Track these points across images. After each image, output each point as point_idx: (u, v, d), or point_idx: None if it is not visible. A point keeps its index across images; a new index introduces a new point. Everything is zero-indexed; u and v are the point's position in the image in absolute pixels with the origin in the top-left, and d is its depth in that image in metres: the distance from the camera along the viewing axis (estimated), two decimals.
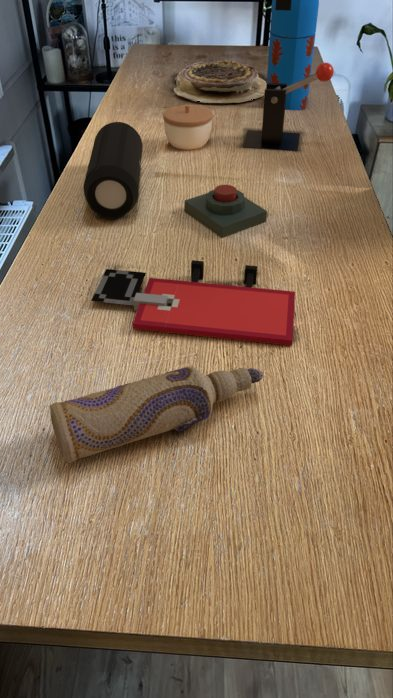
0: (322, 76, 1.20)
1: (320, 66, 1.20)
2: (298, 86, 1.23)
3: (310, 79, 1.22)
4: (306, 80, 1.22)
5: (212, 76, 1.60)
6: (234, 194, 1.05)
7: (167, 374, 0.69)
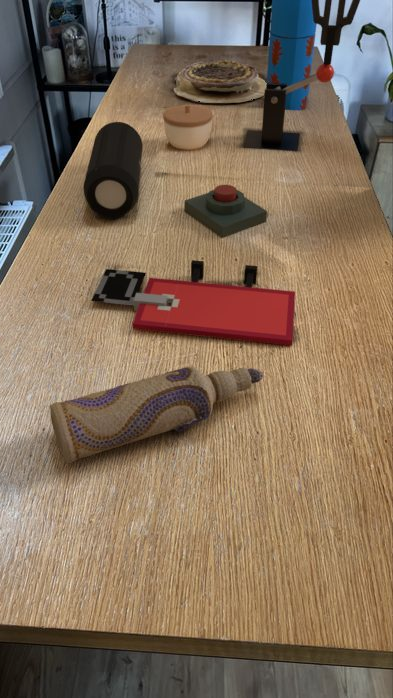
0: (322, 77, 1.20)
1: (320, 67, 1.20)
2: (298, 86, 1.23)
3: (310, 80, 1.22)
4: (306, 80, 1.22)
5: (212, 76, 1.60)
6: (234, 194, 1.05)
7: (167, 374, 0.69)
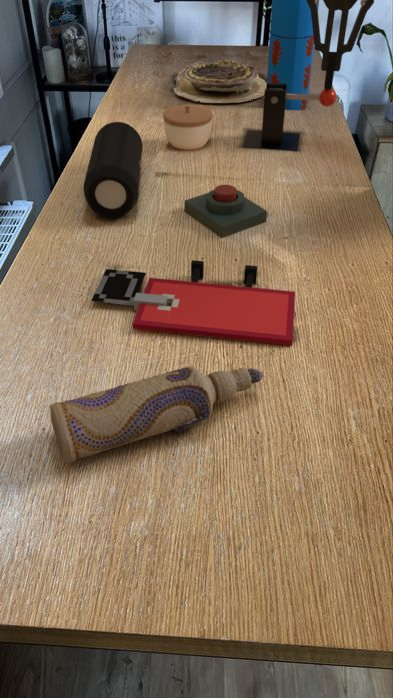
0: (324, 101, 1.23)
1: (327, 90, 1.23)
2: (299, 98, 1.25)
3: (313, 98, 1.24)
4: (309, 96, 1.24)
5: (212, 76, 1.60)
6: (234, 194, 1.05)
7: (167, 374, 0.69)
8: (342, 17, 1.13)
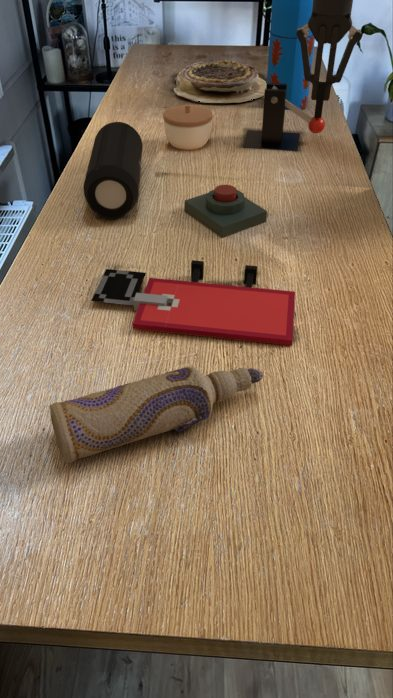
0: (313, 127, 1.27)
1: (320, 119, 1.27)
2: (294, 111, 1.27)
3: (305, 118, 1.27)
4: (302, 114, 1.27)
5: (212, 76, 1.60)
6: (234, 194, 1.05)
7: (167, 374, 0.69)
8: (331, 50, 1.17)
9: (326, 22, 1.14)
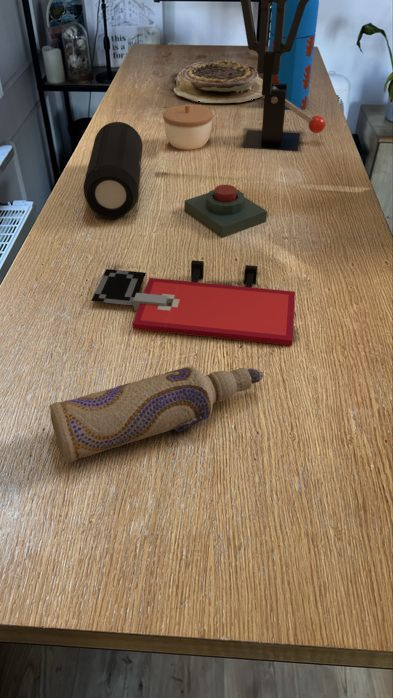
0: (314, 126, 1.27)
1: (320, 118, 1.27)
2: (294, 111, 1.27)
3: (305, 117, 1.27)
4: (303, 114, 1.27)
5: (212, 76, 1.60)
6: (234, 194, 1.05)
7: (167, 374, 0.69)
8: (277, 11, 0.96)
9: None
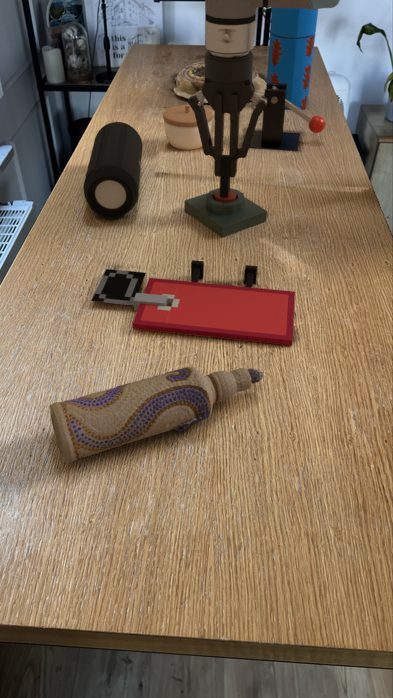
0: (314, 126, 1.27)
1: (320, 118, 1.27)
2: (294, 111, 1.27)
3: (305, 117, 1.27)
4: (303, 114, 1.27)
5: None
6: (234, 199, 1.05)
7: (167, 374, 0.69)
8: (231, 121, 0.96)
9: (222, 89, 0.93)
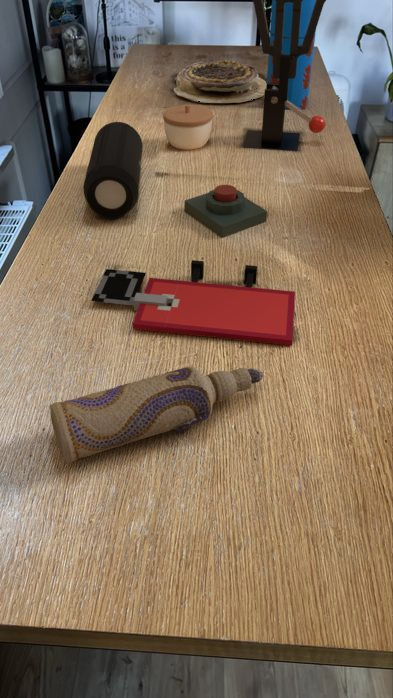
0: (314, 126, 1.27)
1: (320, 118, 1.27)
2: (294, 111, 1.27)
3: (305, 117, 1.27)
4: (303, 114, 1.27)
5: (212, 76, 1.60)
6: (234, 194, 1.05)
7: (167, 374, 0.69)
8: (294, 11, 0.90)
9: None
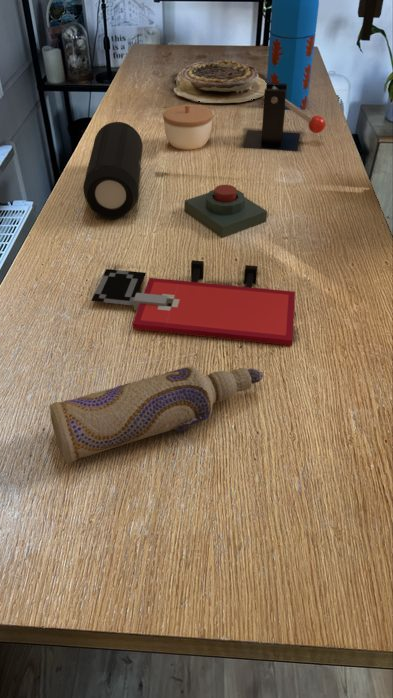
0: (314, 126, 1.27)
1: (320, 118, 1.27)
2: (294, 111, 1.27)
3: (305, 117, 1.27)
4: (303, 114, 1.27)
5: (212, 76, 1.60)
6: (234, 194, 1.05)
7: (167, 374, 0.69)
8: None
9: None
